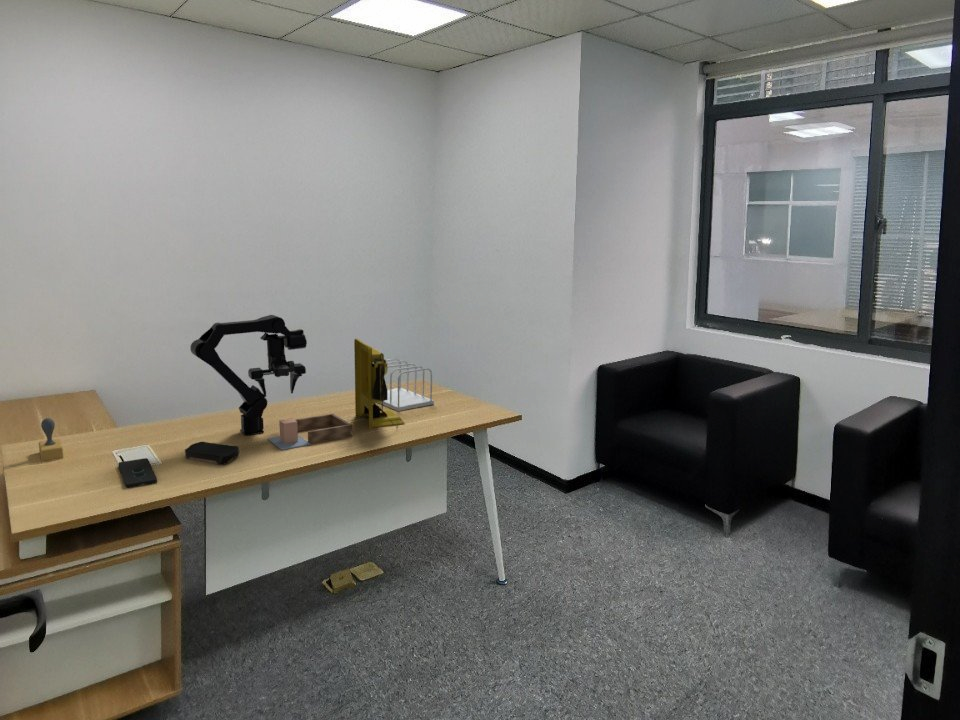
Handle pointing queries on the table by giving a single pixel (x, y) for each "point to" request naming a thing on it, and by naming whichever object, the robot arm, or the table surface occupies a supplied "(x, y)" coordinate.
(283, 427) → the terracotta block
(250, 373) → the robot arm
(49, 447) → the rubber stamp
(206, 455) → the black sponge
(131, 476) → the smart home device
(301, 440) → the slate mat
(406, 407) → the file sorter
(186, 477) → the table surface
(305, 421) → the brown open boxy piece
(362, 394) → the vintage telephone
